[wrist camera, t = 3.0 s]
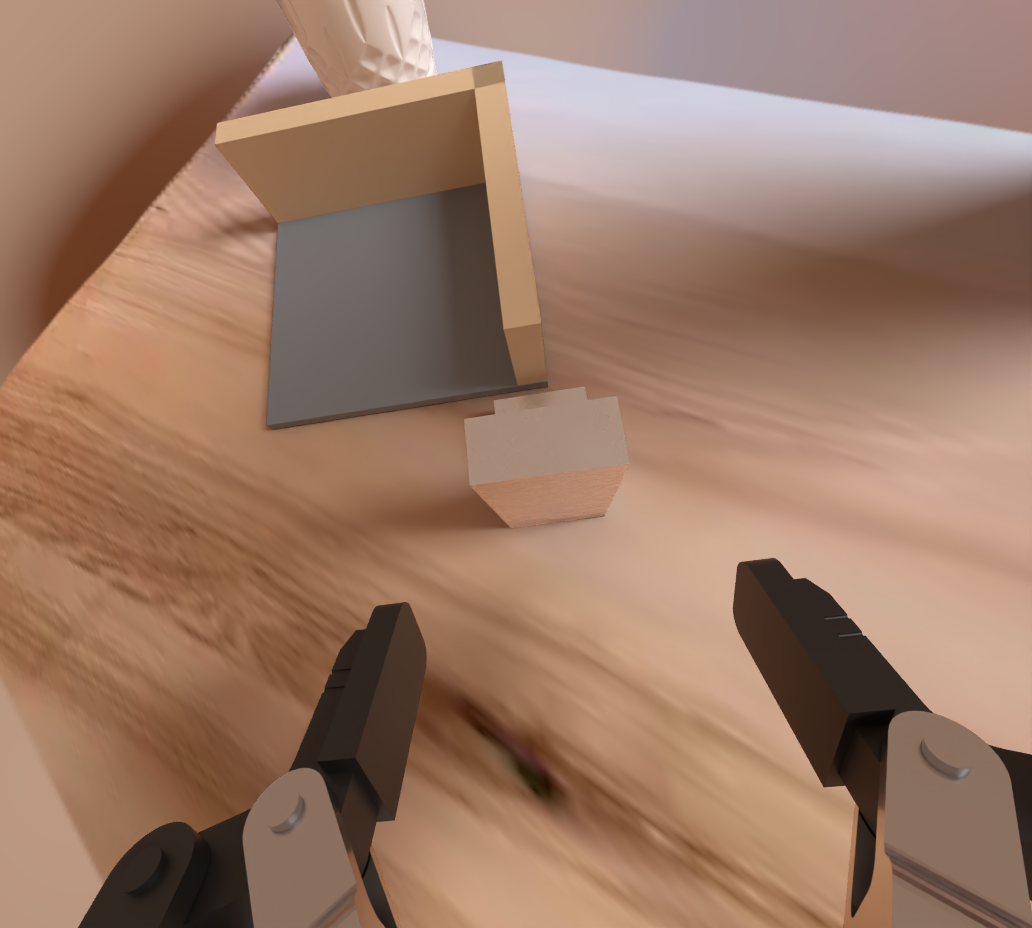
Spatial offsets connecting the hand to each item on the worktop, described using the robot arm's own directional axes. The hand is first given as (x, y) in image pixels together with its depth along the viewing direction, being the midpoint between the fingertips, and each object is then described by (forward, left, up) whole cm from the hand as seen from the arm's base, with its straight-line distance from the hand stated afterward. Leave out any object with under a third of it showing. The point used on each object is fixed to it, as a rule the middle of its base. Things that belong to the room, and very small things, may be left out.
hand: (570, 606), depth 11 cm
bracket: (0, -6, -9) cm, 11 cm away
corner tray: (+7, -18, -9) cm, 21 cm away
